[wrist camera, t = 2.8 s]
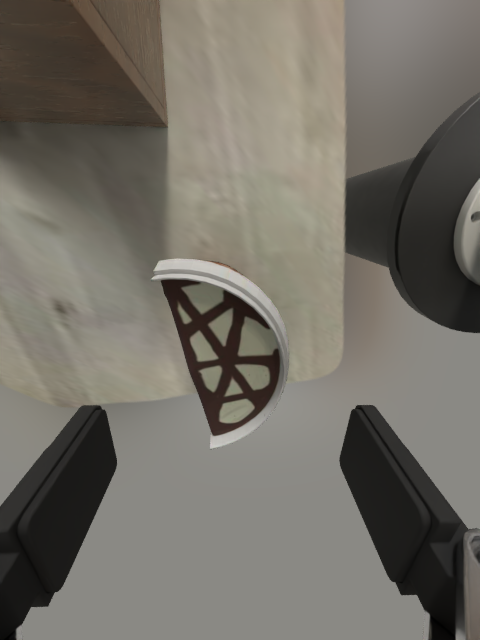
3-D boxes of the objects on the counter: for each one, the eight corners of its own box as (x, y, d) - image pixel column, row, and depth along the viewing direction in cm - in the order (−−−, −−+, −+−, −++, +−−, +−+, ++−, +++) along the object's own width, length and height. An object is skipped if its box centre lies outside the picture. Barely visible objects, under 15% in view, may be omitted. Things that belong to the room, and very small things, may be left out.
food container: (280, 357, 25) (306, 440, 16) (220, 368, 26) (212, 455, 16) (259, 228, 20) (279, 240, 11) (186, 244, 21) (146, 268, 12)
